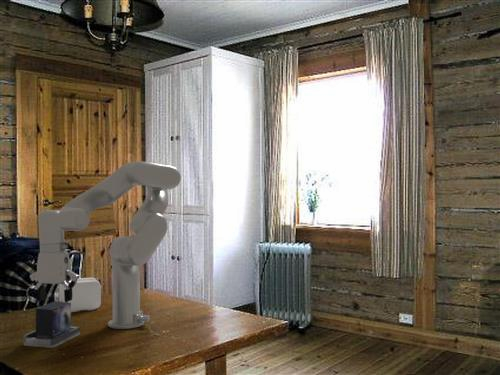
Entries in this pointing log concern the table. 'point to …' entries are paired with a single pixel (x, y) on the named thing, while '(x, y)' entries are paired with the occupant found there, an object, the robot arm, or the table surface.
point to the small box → (53, 319)
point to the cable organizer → (83, 294)
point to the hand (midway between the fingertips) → (55, 300)
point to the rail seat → (50, 343)
